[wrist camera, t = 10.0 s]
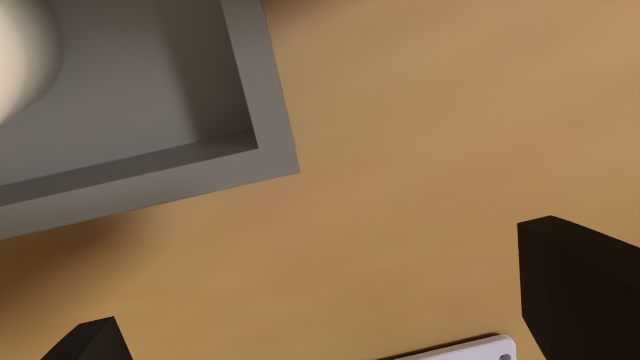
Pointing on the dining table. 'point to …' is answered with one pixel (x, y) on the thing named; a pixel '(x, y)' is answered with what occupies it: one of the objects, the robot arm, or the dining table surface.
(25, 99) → the salt shaker
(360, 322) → the dining table surface
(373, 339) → the dining table surface
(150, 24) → the tray
